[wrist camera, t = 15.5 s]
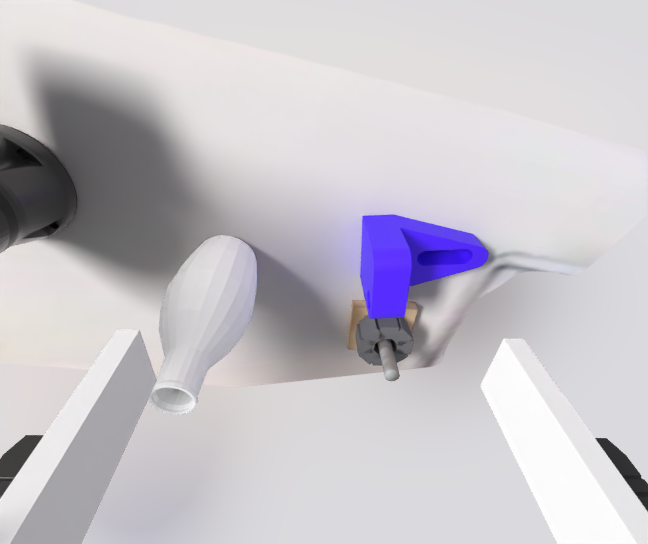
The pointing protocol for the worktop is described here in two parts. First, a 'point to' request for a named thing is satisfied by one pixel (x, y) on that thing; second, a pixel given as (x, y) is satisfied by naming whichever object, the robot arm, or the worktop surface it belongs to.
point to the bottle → (203, 318)
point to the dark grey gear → (380, 329)
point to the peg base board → (385, 344)
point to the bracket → (409, 259)
